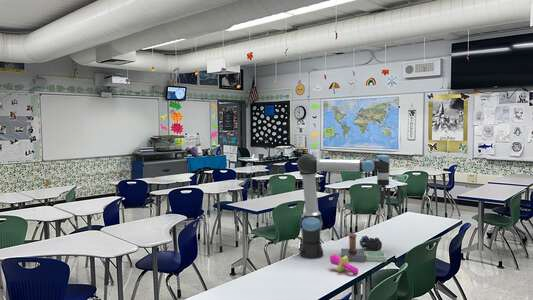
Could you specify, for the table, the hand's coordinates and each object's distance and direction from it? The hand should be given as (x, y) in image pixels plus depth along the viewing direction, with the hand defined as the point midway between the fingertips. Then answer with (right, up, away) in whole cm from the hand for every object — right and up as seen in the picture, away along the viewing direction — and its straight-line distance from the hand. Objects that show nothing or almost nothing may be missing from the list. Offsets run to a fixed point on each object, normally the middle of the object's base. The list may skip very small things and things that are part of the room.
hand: (382, 211), depth 271 cm
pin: (-22, -28, -10) cm, 37 cm away
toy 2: (-7, -27, +5) cm, 28 cm away
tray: (-8, -28, -12) cm, 32 cm away
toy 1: (-31, -30, -32) cm, 54 cm away
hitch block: (-22, -28, -10) cm, 37 cm away
